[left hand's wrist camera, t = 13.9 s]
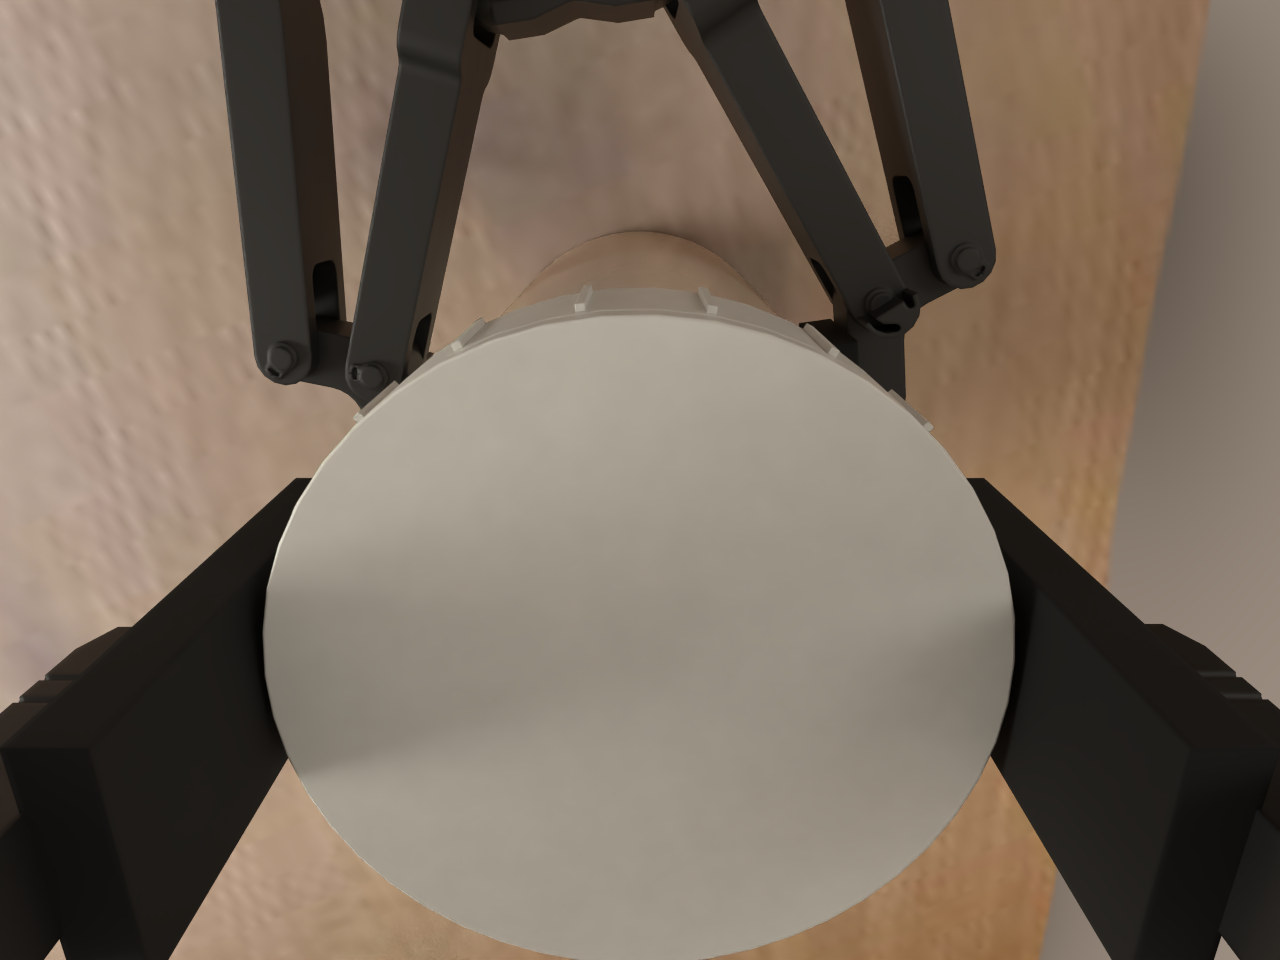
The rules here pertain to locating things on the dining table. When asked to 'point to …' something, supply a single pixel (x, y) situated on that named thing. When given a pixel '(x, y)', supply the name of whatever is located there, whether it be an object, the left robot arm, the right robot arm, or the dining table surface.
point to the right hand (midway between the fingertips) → (665, 608)
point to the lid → (639, 630)
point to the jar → (639, 270)
